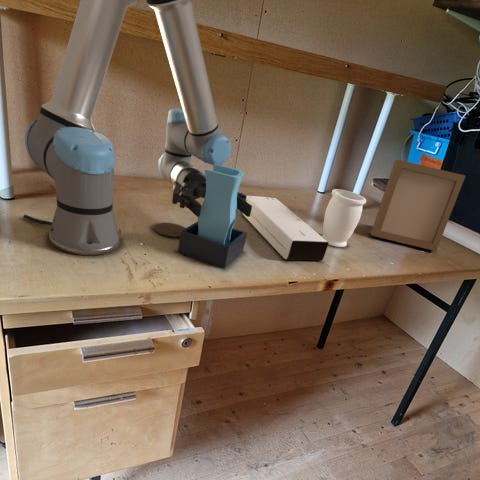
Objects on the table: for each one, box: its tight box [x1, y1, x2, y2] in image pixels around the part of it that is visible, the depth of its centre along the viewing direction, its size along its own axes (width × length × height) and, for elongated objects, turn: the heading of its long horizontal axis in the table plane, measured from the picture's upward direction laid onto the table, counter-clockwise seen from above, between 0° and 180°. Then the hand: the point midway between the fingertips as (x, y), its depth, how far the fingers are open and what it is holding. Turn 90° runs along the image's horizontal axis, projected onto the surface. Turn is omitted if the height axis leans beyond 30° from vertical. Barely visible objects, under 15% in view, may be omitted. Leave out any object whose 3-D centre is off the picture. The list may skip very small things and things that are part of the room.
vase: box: [197, 163, 245, 246], centre depth 99 cm, size 8×8×20 cm
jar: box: [320, 188, 367, 248], centre depth 125 cm, size 11×10×15 cm
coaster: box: [153, 222, 186, 239], centre depth 111 cm, size 9×9×1 cm
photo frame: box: [370, 159, 466, 252], centre depth 139 cm, size 15×22×25 cm
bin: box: [177, 220, 248, 269], centre depth 104 cm, size 13×13×6 cm
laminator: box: [241, 194, 329, 262], centre depth 122 cm, size 34×12×6 cm, turn 21°
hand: (225, 211), depth 97 cm, fingers open, 13 cm apart
